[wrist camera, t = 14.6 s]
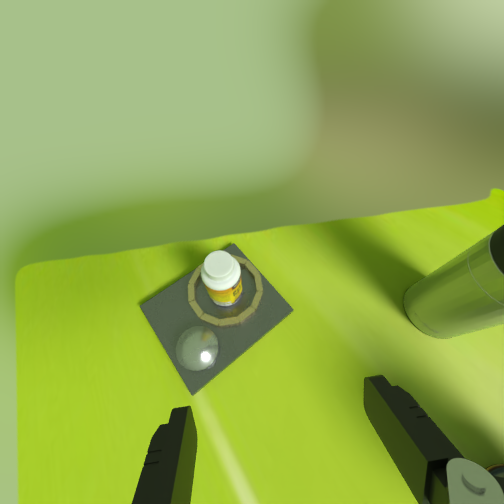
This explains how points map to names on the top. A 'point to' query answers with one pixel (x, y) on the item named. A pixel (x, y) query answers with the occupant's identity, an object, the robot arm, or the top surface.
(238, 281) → the supplement bottle
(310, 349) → the top surface
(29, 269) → the top surface
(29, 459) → the top surface
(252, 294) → the carrier plate
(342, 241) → the top surface
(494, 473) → the apothecary jar
